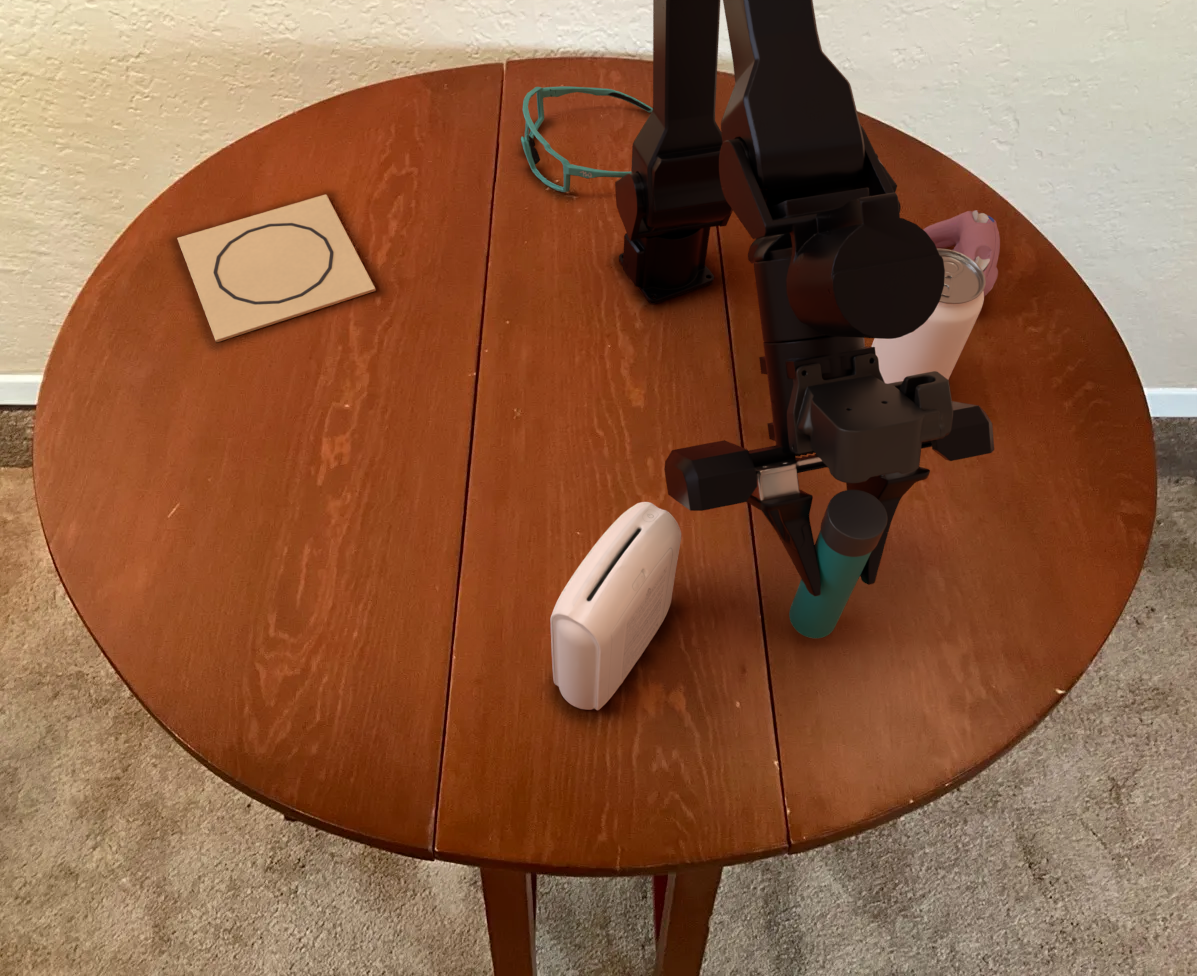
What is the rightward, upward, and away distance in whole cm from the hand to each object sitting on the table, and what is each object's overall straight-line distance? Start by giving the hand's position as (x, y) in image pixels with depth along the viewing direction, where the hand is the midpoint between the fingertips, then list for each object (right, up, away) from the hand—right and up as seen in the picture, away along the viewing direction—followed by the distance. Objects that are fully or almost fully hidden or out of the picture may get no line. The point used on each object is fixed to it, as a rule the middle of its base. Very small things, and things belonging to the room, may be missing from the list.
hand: (841, 588), depth 59 cm
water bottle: (0, -3, +6) cm, 7 cm away
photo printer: (-14, -5, +6) cm, 16 cm away
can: (+10, +15, +20) cm, 27 cm away
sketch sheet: (-44, +26, +27) cm, 58 cm away
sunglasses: (-15, +39, +37) cm, 56 cm away
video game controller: (+16, +25, +27) cm, 40 cm away
